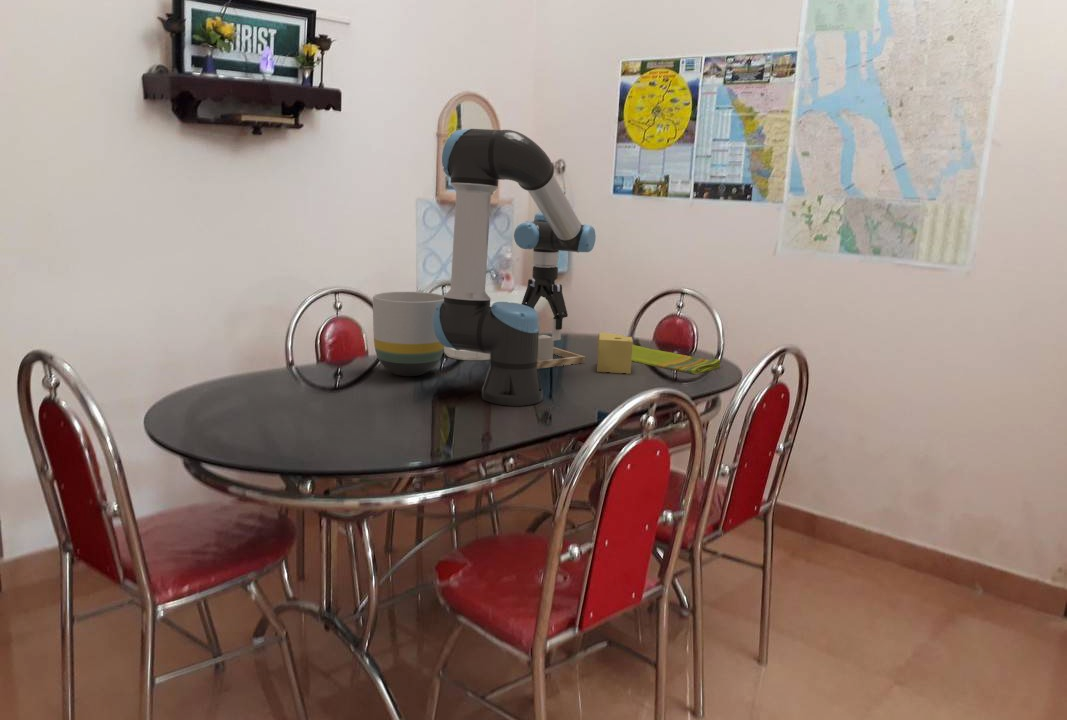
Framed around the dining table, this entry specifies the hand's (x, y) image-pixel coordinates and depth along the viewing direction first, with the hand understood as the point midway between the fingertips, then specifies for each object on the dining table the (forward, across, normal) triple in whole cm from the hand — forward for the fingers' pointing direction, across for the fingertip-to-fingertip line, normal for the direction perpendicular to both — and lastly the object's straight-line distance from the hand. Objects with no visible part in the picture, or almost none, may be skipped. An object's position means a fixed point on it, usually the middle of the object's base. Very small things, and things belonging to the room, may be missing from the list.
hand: (542, 335), depth 253 cm
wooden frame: (+7, 0, 0) cm, 7 cm away
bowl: (+7, +14, +16) cm, 23 cm away
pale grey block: (+7, 0, 0) cm, 7 cm away
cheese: (+8, -21, -11) cm, 25 cm away
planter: (+7, 0, +45) cm, 46 cm away
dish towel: (+8, -18, -32) cm, 37 cm away
